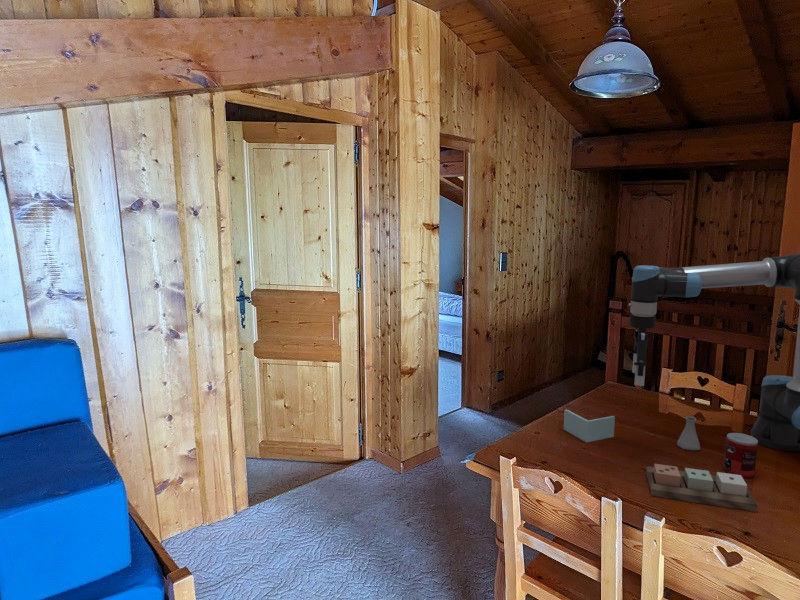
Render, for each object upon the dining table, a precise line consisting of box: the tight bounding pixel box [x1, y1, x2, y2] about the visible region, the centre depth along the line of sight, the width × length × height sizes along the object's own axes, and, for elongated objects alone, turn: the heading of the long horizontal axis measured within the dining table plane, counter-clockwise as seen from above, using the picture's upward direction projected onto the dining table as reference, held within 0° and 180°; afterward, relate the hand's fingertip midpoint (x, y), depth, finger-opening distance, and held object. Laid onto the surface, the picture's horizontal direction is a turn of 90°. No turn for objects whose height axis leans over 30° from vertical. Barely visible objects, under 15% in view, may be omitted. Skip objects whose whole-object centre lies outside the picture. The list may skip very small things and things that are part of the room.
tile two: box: [684, 467, 713, 492], centre depth 146 cm, size 6×6×3 cm
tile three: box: [653, 463, 681, 487], centre depth 149 cm, size 6×6×3 cm
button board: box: [645, 465, 758, 513], centre depth 147 cm, size 25×14×2 cm, turn 71°
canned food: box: [723, 432, 759, 479], centre depth 156 cm, size 8×8×11 cm
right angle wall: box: [563, 409, 616, 443], centre depth 186 cm, size 12×12×8 cm
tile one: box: [715, 471, 748, 497], centre depth 144 cm, size 6×6×3 cm
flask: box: [676, 416, 701, 451], centre depth 174 cm, size 7×7×10 cm
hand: (637, 378), depth 168 cm, fingers open, 13 cm apart
